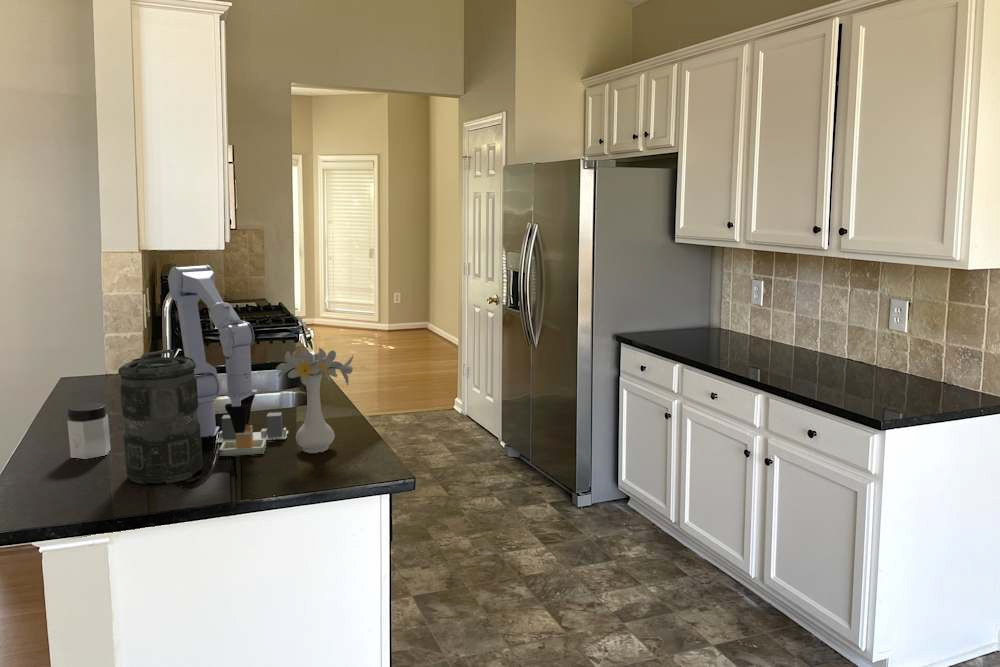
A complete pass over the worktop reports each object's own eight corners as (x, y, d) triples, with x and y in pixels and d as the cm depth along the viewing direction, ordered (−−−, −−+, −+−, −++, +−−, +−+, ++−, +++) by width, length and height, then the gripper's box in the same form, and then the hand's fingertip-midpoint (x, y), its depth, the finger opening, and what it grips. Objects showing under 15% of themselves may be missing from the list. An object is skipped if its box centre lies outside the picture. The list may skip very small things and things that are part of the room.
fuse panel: (216, 444, 205) (215, 420, 204) (221, 436, 212) (219, 413, 211) (286, 440, 208) (285, 417, 207) (288, 432, 215) (287, 410, 214)
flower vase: (362, 450, 199) (359, 350, 195) (286, 462, 191) (281, 357, 187) (346, 437, 211) (342, 341, 206) (274, 447, 202) (269, 348, 198)
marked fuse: (236, 452, 197) (235, 430, 196) (238, 447, 200) (237, 426, 199) (251, 451, 197) (250, 429, 197) (253, 446, 201) (252, 425, 200)
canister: (156, 491, 172) (146, 361, 167) (111, 478, 180) (101, 353, 176) (218, 470, 185) (210, 349, 181) (173, 458, 194) (165, 342, 189)
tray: (219, 457, 195) (218, 449, 194) (224, 448, 202) (223, 441, 201) (263, 454, 196) (263, 447, 196) (266, 445, 203) (266, 439, 203)
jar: (62, 458, 194) (58, 409, 192) (89, 448, 202) (84, 401, 200) (92, 461, 192) (88, 412, 190) (118, 451, 199) (114, 403, 197)
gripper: (252, 379, 189) (255, 435, 192) (259, 366, 203) (262, 419, 206) (220, 380, 188) (224, 437, 190) (230, 367, 202) (233, 420, 205)
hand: (241, 428), depth 198 cm, fingers open, 7 cm apart
